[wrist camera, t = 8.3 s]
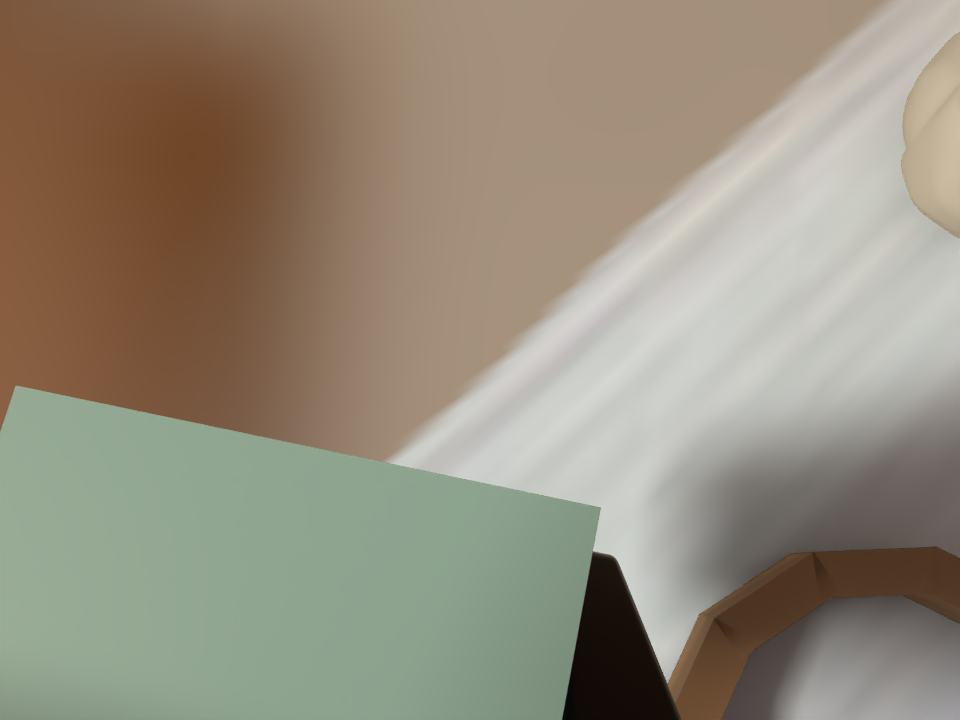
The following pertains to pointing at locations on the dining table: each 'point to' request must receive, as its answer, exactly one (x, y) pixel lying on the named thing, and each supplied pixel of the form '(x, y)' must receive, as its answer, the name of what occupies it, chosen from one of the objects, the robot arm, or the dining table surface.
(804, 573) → the walnut ring
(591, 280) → the dining table surface
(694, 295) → the dining table surface
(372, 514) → the green rectangular block
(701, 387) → the dining table surface
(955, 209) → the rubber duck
